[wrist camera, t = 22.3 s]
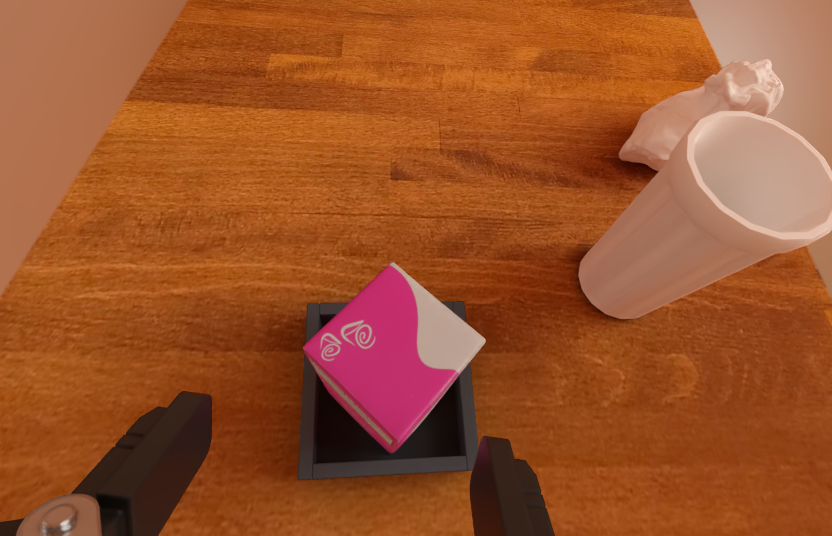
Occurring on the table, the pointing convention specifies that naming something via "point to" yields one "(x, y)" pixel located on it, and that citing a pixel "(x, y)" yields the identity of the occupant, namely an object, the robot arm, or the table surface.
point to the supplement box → (392, 355)
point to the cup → (710, 214)
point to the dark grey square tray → (357, 450)
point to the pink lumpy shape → (702, 109)
